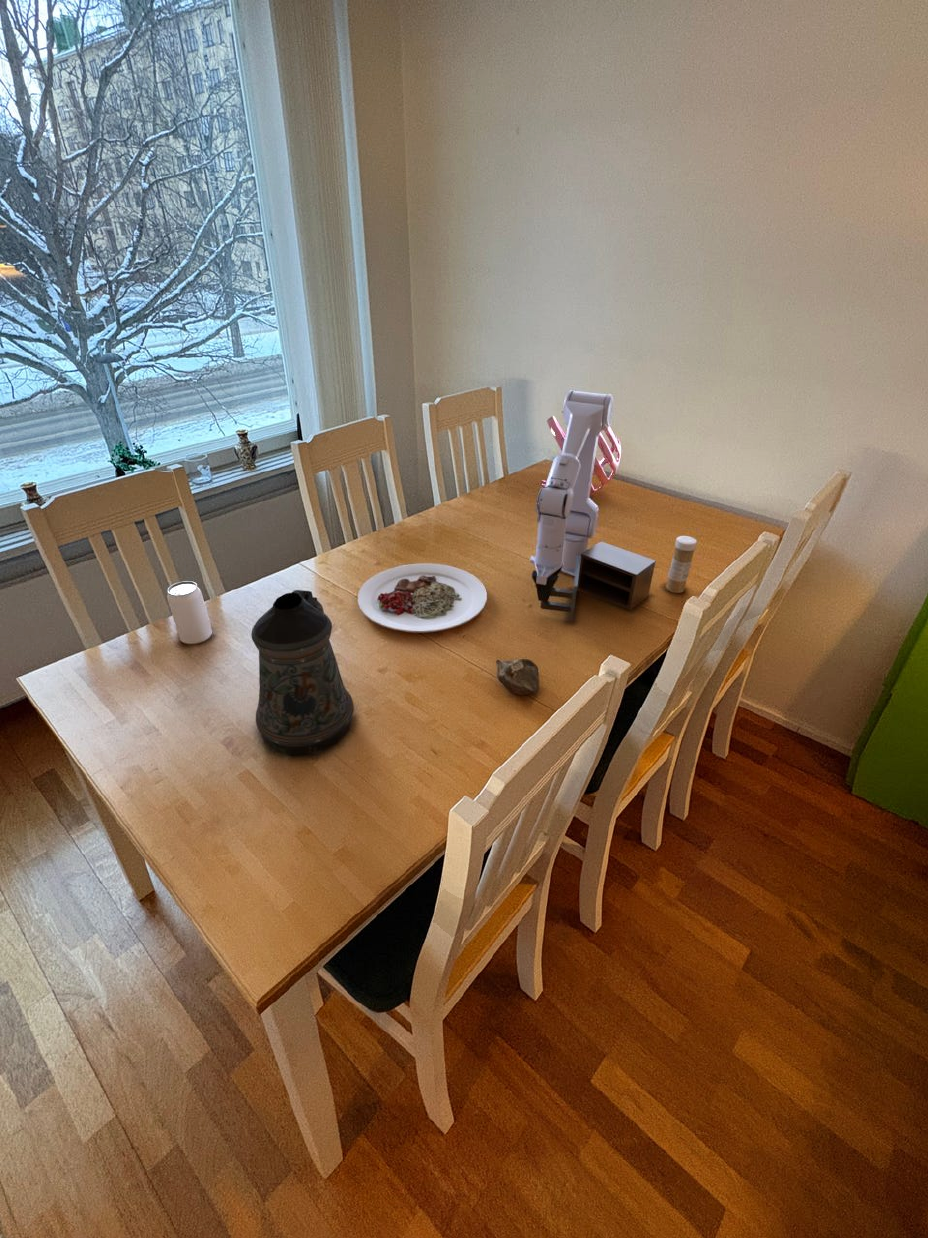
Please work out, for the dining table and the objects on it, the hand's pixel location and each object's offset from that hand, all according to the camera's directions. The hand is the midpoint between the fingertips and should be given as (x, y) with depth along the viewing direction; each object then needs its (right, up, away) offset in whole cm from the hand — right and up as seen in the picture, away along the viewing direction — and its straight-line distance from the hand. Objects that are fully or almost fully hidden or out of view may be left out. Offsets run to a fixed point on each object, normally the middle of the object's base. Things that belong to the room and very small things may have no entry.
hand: (544, 596), depth 133 cm
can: (-75, -9, -7) cm, 76 cm away
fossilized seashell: (-8, -18, -19) cm, 27 cm away
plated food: (-28, -1, +6) cm, 28 cm away
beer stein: (-46, -23, -27) cm, 58 cm away
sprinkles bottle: (+33, +2, +12) cm, 36 cm away
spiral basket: (+19, +37, +63) cm, 75 cm away
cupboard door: (+4, -1, +6) cm, 7 cm away
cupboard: (+18, +1, +10) cm, 20 cm away
